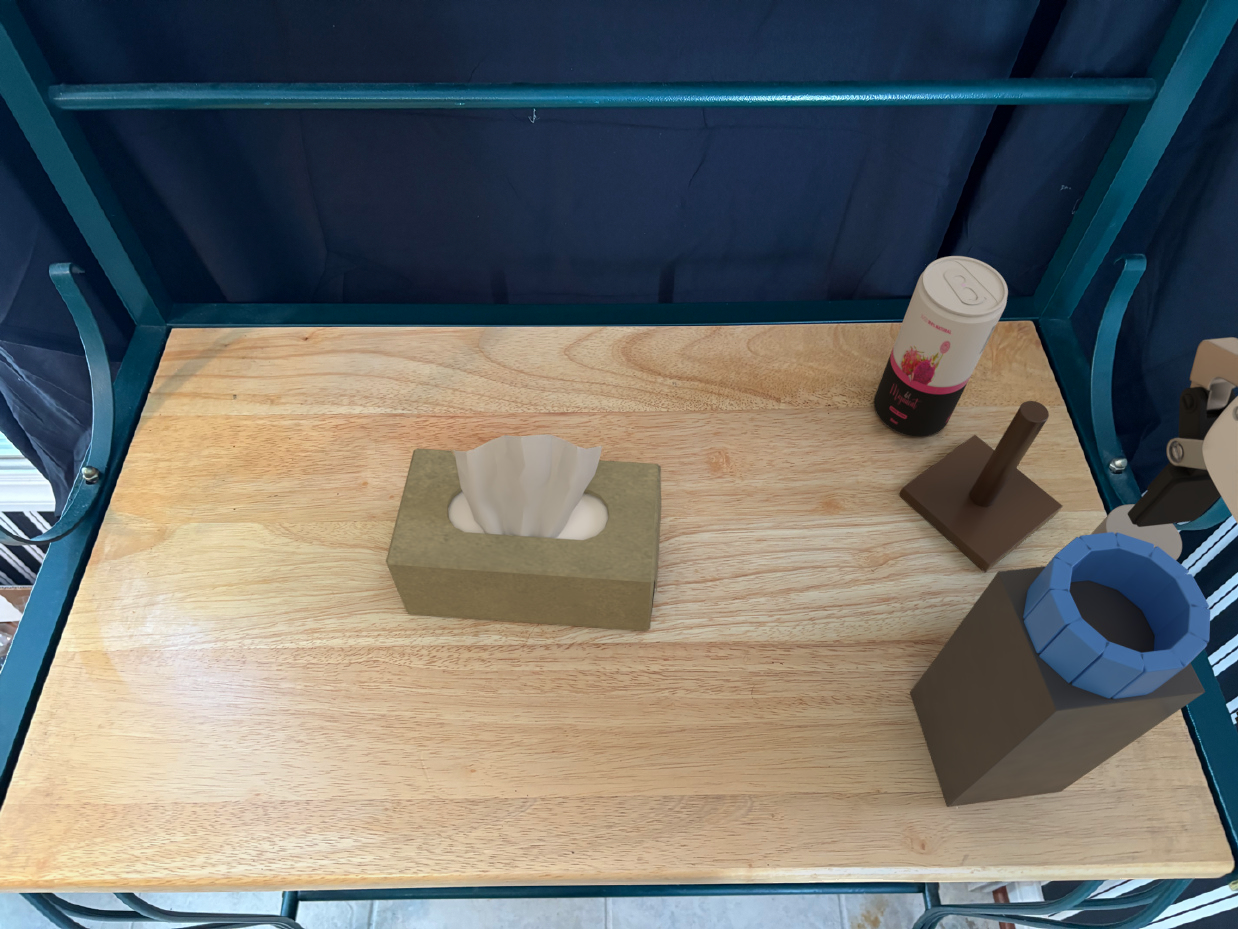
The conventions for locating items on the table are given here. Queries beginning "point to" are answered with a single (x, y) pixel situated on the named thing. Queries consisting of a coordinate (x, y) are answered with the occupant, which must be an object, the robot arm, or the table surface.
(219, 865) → the table surface
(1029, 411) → the stand
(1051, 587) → the ring
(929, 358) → the beverage can
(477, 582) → the tissue box
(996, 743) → the pedestal
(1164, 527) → the container
